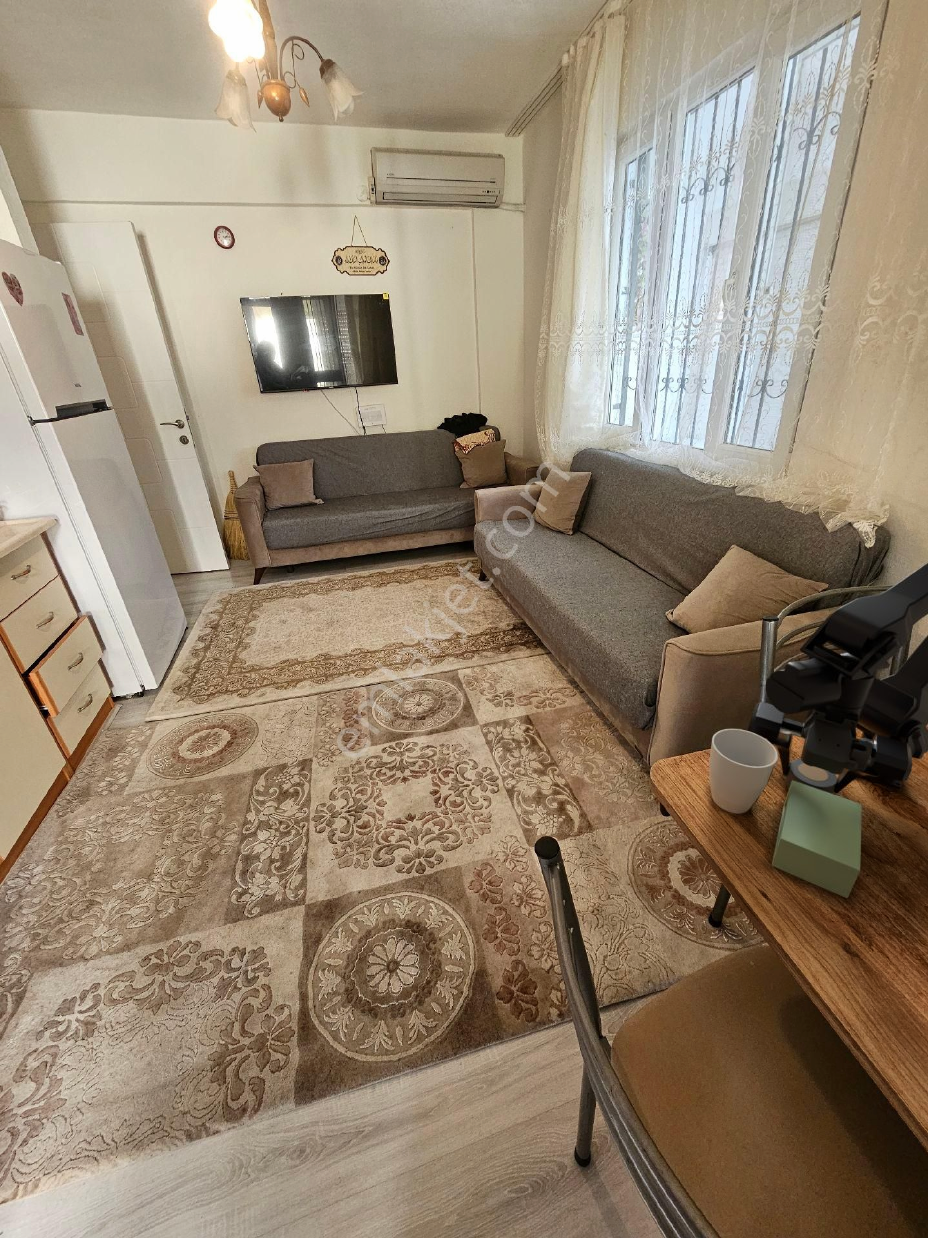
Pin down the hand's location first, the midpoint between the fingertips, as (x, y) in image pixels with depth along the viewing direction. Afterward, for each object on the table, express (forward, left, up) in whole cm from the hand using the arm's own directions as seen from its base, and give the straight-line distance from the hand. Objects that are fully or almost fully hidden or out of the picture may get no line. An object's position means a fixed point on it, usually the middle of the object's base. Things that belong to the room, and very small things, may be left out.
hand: (809, 782), depth 76 cm
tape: (0, 0, -1) cm, 1 cm away
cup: (+9, -9, -1) cm, 13 cm away
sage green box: (+12, +1, -1) cm, 12 cm away
